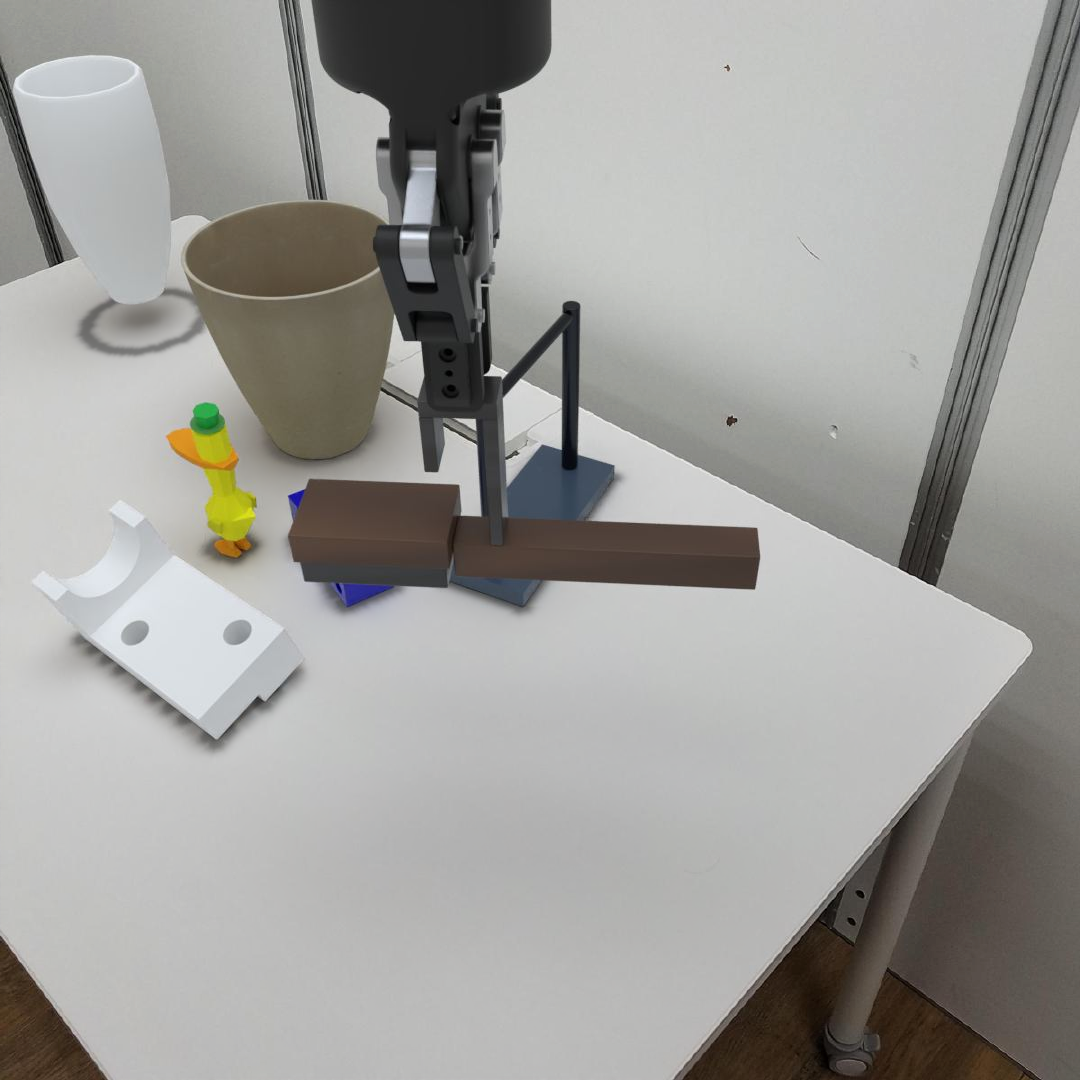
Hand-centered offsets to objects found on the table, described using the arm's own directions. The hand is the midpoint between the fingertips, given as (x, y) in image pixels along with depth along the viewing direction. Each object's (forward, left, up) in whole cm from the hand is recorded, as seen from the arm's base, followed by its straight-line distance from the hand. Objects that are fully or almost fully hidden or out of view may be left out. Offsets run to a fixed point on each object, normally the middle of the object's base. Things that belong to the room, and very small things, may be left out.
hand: (461, 386), depth 45 cm
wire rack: (+8, -21, -27) cm, 35 cm away
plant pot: (+28, -24, -27) cm, 45 cm away
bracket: (+22, 0, -27) cm, 34 cm away
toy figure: (+26, -10, -27) cm, 38 cm away
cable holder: (+18, -12, -27) cm, 34 cm away
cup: (+52, -31, -27) cm, 66 cm away
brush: (-2, -1, -10) cm, 10 cm away
